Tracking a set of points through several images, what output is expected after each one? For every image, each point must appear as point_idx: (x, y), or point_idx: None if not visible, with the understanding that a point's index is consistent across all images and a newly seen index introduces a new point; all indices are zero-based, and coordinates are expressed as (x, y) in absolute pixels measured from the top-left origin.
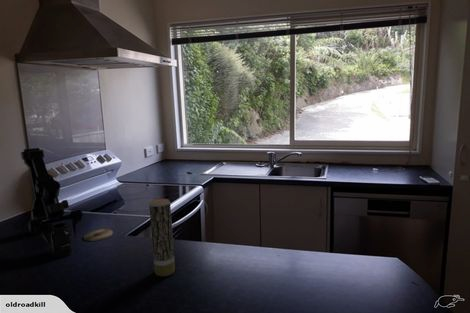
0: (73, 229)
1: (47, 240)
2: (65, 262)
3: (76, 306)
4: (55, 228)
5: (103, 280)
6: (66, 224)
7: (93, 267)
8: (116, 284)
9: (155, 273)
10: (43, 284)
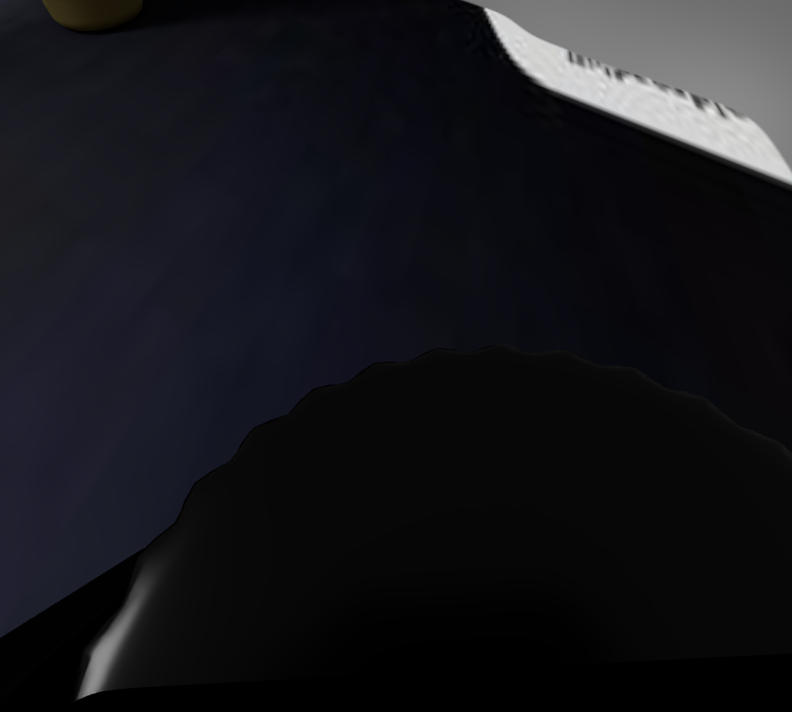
0: (39, 654)
1: None
2: None
3: (461, 6)
4: (758, 493)
5: (318, 71)
6: (109, 616)
7: (298, 185)
8: (292, 33)
9: (138, 6)
10: (592, 170)
